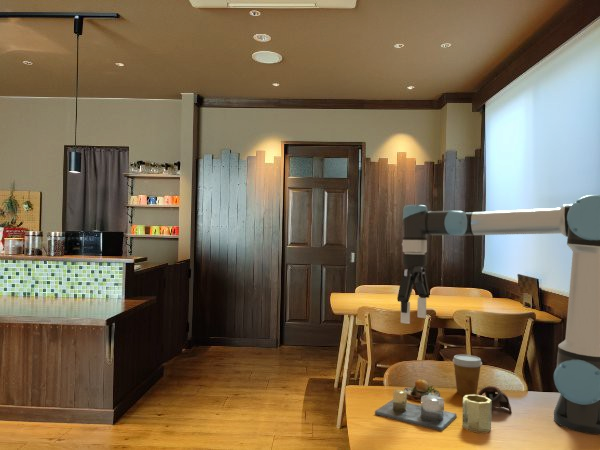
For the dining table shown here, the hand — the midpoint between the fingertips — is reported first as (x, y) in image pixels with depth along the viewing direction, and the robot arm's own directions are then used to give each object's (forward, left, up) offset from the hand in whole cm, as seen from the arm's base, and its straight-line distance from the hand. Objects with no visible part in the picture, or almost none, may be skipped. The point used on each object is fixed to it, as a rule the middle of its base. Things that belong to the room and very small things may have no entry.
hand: (413, 320), depth 155 cm
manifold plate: (-5, +10, -26) cm, 28 cm away
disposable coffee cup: (-11, -21, -26) cm, 36 cm away
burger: (0, -8, -27) cm, 28 cm away
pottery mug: (-22, -10, -27) cm, 36 cm away
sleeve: (-22, +8, -26) cm, 35 cm away
